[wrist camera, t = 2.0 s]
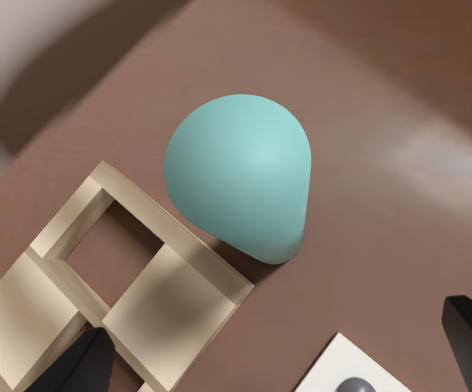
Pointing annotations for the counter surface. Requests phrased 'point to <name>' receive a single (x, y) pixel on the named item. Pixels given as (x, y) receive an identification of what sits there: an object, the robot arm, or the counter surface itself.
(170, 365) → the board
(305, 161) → the pin
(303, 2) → the counter surface
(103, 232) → the counter surface
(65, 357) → the robot arm
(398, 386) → the pattern tile
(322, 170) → the counter surface
